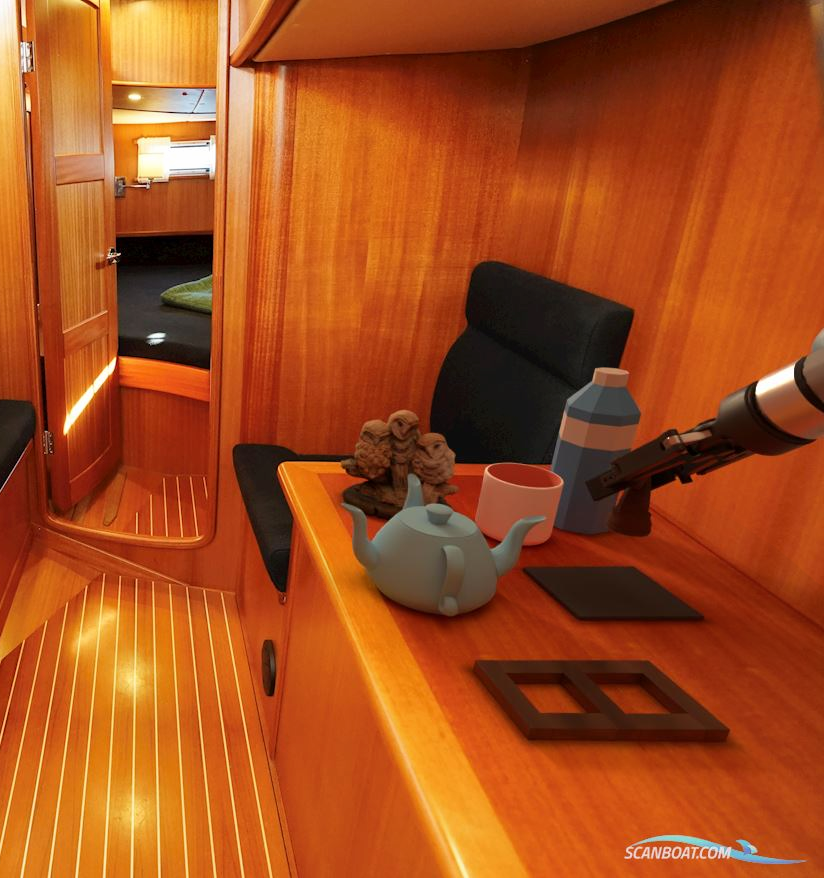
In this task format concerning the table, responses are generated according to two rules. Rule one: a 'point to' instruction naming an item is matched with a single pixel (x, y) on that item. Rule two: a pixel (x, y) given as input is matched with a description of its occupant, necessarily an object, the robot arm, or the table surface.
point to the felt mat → (611, 594)
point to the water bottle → (592, 447)
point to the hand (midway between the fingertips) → (609, 489)
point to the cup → (518, 500)
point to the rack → (598, 701)
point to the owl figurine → (398, 465)
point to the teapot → (435, 555)
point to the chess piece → (632, 511)
